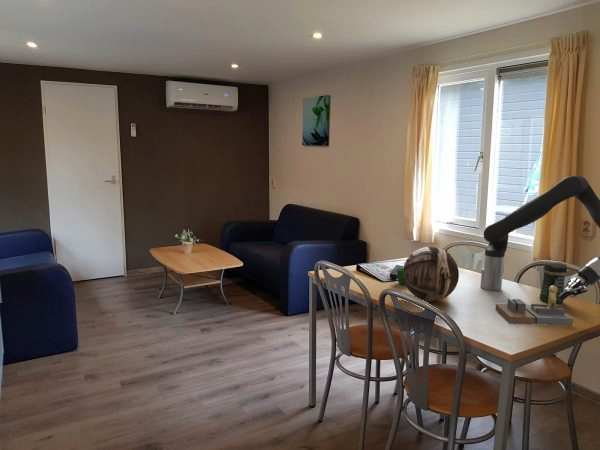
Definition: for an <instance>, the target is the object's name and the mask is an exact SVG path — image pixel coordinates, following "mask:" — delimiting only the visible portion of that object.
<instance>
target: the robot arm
mask: <svg viewBox="0 0 600 450" xmlns="http://www.w3.org/2000/svg"><path fill="white" fill-rule="evenodd" d="M571 198H576V199H577V200H579V201H580V203H581V204H582V205H583V206H584V207H585V209H586V210H587V211H588V213H589V215H590V218H591V219H592V221H593V222H594V223H595V224H596V226H597V227H598V228H599V229H600V198H599V197H598V196H597V194H596V193H595V191H594V190H593V188H592V187H591V185H590V183H589V181H588V180H587V179H586V178H585V177H583V176H581V175H568V176H566V177H564V178H562V179H561V180H560V181H559V182H557V183H556V184H555V185H553V186H552V187H551V188H550V189H548V190H547V191H545V192H544V193H542V194H540V195H538V196H535V197H534V198H533V199H531V200H529V201H528V202H525V203H524V204H523V205H521V206H519V207H518V208H516V209H515V210H514V211H512V212H511V213H509V214H508V215H507V216H505V217H503V218H502V219H500V220H498V221H495V222H494V223H492V224H489V225H487V226H486V227H485V229H484V230H483V238H484V240H485V241H486V242H488V245H487V247H486V248H485V250H484V258H483V259H484V260H483V268H482V269H481V275H480V276H481V277H480V289H481V288H482V289H484V290H487V291H493V292H494V291H496V292H499V291H501V290H502V287H503V275H504V265H505V255H506V253H507V249H508V243H509V242H508V241H509V236H510V235H509V234H510V233H512V232H514V231H516V230H518V229H521V228H523V227H526V226H528V225H530V224H532V223H535V222H536V221H538V220H539V219H542V218H543V217H544V216H546V215H547V214H548V213H549V212H550V211H551V210H552V209H553V208H554V207H555V206H556V205H558V204H560V203H563V202H565V201H566V200H568V199H571ZM599 281H600V254H598V255H597V256H596V257H594V258H593V259H592V260H590V261H589V262H588V263H586V264H585V265H584V266H583V267H581V268H580V269H579V270H578V271H577V275H576V276H574V277H573V278H570V277H568V278H567V279H566V281H564V287H563V288H564V291H563V292H562V293H561V294H559V295H558V298H559V299H561V300H562V301H563V302H564V301H565V300H566V299H567V298H568V297H569V296H573V297H575V296H578V295H581V294H585V293H587V292H588V289H587V287H589V286H593V285H595V284H596V283H598V282H599Z"/></svg>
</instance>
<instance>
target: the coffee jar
mask: <svg viewBox="0 0 600 450" xmlns="http://www.w3.org/2000/svg"><path fill="white" fill-rule="evenodd" d="M567 274H568V266H567V264H565V263H562V262H545V263H544V264H543V281H542V284H541V290H540V294H539V299H540V300H541V301H542V302H544V303H546V304H548V300H549V287H550V286H556V287H557V288H558V292H557V297H556V304H562V303H563V302H564V300H563V301H562V300H561V299H559V298H558V295H559V294H561V293H562V292H563V291H564V288H563V287H564V285H565V279H566V276H567Z"/></svg>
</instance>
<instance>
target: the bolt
mask: <svg viewBox="0 0 600 450" xmlns="http://www.w3.org/2000/svg"><path fill="white" fill-rule="evenodd" d="M557 292H558V288H557V287H556V286H550V287H549V300H548V303H547V304H548V307H544V306H533V310H534V311H535V312H536V309H537V308H555V306H556V304H557V303H556V297H557Z"/></svg>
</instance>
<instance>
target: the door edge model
mask: <svg viewBox="0 0 600 450" xmlns="http://www.w3.org/2000/svg"><path fill="white" fill-rule="evenodd" d="M533 306H544V307H548V303H531V304H526V302H524V301H523V300H522V299H519V298H512V299H511V298H507V303H495V309H494V310H495V312H497V313H498V314H499V315H500V316H501V317H502V318H503V319H504V320H505V321H506V322H507V323H508V324H509V325H510V324H511V325H512V324H513V325H532V324H534V325H537V324H547V325H546V326H560V325H572V326H573V323H574V318H572V317H571V316H570V315H568V314H567V313H565V311H566V309H565V308H559V307H560V305H559V303H556V306H555V308H537V309H536V312H535V311H534V310H533Z"/></svg>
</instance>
